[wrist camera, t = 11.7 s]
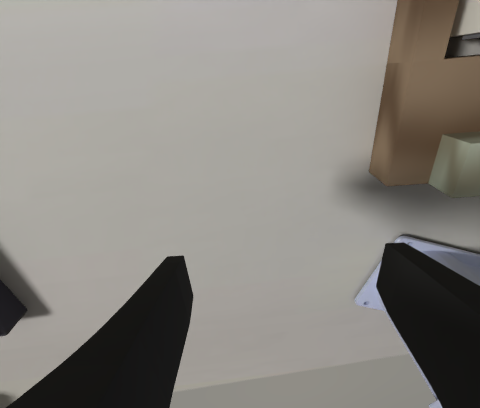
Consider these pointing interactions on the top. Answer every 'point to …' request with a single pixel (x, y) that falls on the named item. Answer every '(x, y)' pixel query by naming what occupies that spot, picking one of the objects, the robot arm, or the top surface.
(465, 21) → the block
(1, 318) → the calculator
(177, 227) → the top surface
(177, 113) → the top surface
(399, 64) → the brown slotted block base
